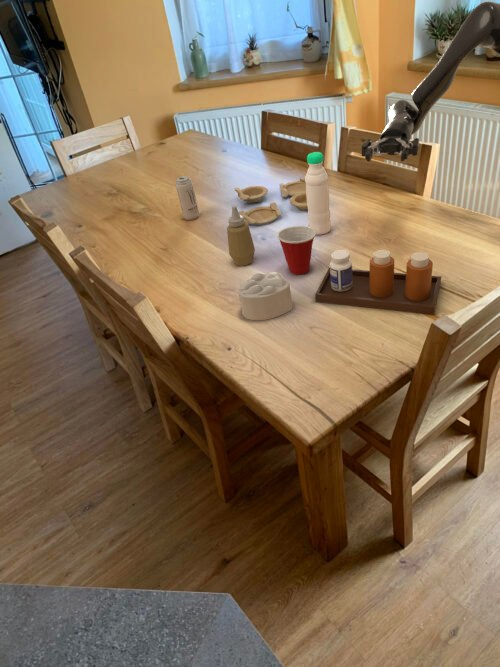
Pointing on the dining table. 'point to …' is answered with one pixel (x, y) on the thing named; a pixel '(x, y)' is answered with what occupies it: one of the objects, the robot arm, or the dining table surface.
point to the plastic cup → (297, 247)
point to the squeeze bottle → (240, 239)
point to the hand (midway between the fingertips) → (385, 157)
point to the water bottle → (317, 194)
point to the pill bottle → (341, 271)
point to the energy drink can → (187, 198)
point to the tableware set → (271, 212)
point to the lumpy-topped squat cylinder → (265, 296)
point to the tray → (364, 298)
